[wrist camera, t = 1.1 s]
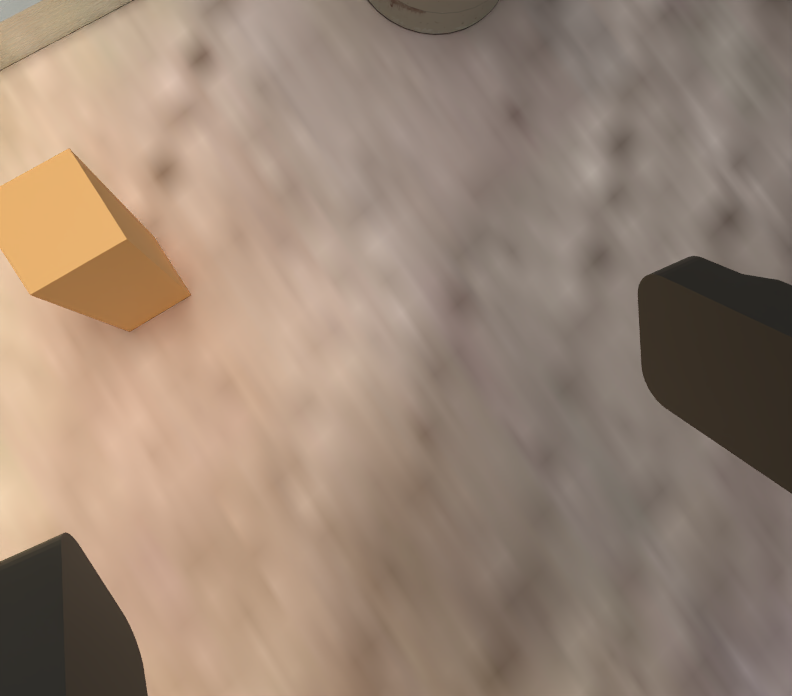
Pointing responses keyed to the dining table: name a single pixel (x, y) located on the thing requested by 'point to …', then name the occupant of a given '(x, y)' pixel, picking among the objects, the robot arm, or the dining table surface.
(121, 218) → the square peg
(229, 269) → the dining table surface
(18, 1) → the collar plate
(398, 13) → the thermos bottle
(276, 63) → the dining table surface
